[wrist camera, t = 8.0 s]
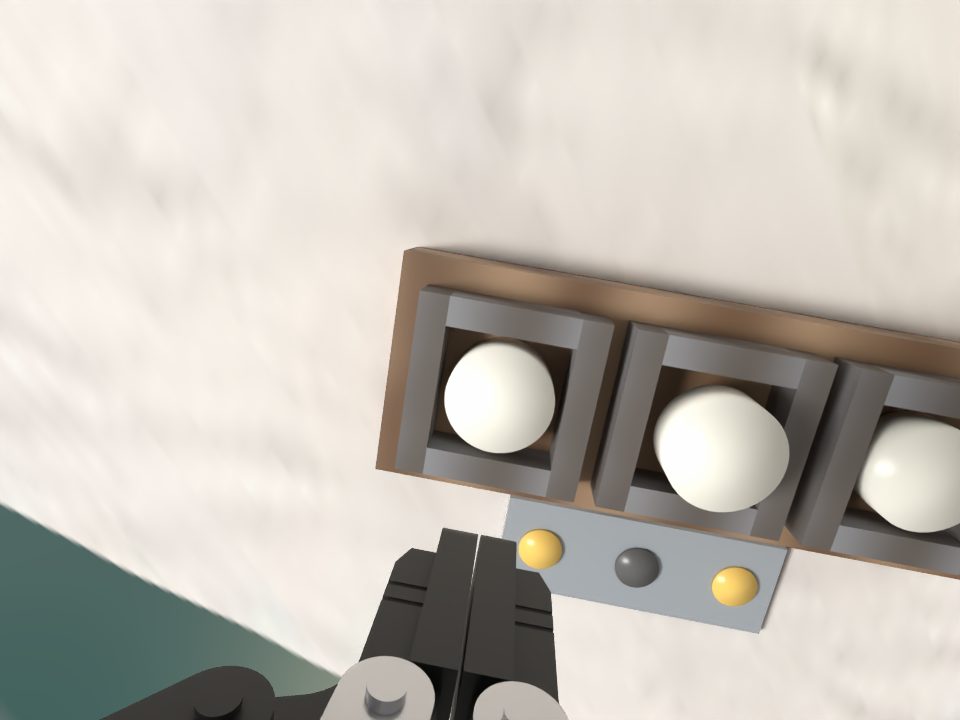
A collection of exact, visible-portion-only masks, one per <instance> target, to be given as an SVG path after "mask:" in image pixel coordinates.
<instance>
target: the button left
mask: <svg viewBox="0 0 960 720" xmlns="http://www.w3.org/2000/svg"><path fill="white" fill-rule="evenodd" d="M444 399H445V409H446V414H447V417H448V419H449V421H450V423H451V425H452V427H453V428H454V430H455V431H456V432H457V434H458V435H459V436H460V437H461V438H462V439H463V440H465V441H466V442H467V443H469V444H470V445H472V446H474V447H476V448H478V449H481V450H483V451H487V452H492V453H509V452H514V451H518V450H521V449H523V448H526V447H527V446H529V445H531V444H532V443H534V442H535V441H536V440H538V439H539V438H540V437H541V436H542V435H543V433H544V432H545V431H546V429H547V428H548V426H549V424H550V422H551V420H552V417H553V414H554V408H555V394H554V388H553V381H552V376H551V372H550V370H549V367H548V365H547V363H546V362H545V360H544V359H543V357H542V356H541V355H540V354H539V353H538V352H537V351H536V350H535V349H534V348H532V347H531V346H530V345H528V344H526V343H524V342H522V341H519V340H516V339H512V338H506V337H496V338H490V339H486V340H483V341H480V342H478V343H476V344H475V345H473V346H471V347H470V348H469V349H468V350H466V351H465V352H464V353H463V354H462V356H461V357H460V358H459V360H458V361H457V363H456V365H455V367H454V369H453V371H452V373H451V376H450V378H449V380H448V383H447V386H446V390H445V398H444Z"/></svg>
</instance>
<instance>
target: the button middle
mask: <svg viewBox="0 0 960 720" xmlns="http://www.w3.org/2000/svg"><path fill="white" fill-rule="evenodd" d="M653 444H654V450H655V454H656V456H657V459H658V461H659V463H660V465H661V466H662V468H663V470H664V472H665V474H666V476H667V478H668V480H669V481H670V483H671V485H672V487H673V488H674V489H675V491H676V492H677V493H678V494H679V495H680V496H681V497H682V498H683V499H684V500H686V501H687V502H688V503H690V504H692V505H694V506H696V507H698V508H701V509H704V510H708V511H713V512H734V511H738V510H743V509H746V508H748V507H751V506H753V505H755V504H757V503H759V502H760V501H762V500H764V499H765V498H766V497H767V496H769V495H770V494H771V493H772V492H773V491H774V490H775V489H776V487H777V486H778V485H779V483H780V482H781V480H782V478H783V477H784V474H785V472H786V470H787V466H788V462H789V444H788V439H787V436H786V434H785V431H784V430H783V428H782V426H781V425H780V423H779V422H778V421H777V419H776V418H775V417H774V416H773V415H771V414H770V413H769V412H768V411H766V410H765V409H764V408H763V407H762V406H760V405H759V404H758V403H757V402H755V401H754V400H753V399H752V398H750V397H749V396H748V395H746V394H745V393H743V392H742V391H740V390H738V389H735V388H733V387H729V386H725V385H702V386H698V387H694V388H692V389H689V390H687V391H685V392H683V393H681V394H679V395H678V396H677V397H675V398H674V399H673V400H672V401H670V402H669V403H668V405H667V406H666V407H665V408H664V409H663V411H662V412H661V414H660V416H659V418H658V420H657V422H656V425H655V429H654V434H653Z"/></svg>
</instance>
